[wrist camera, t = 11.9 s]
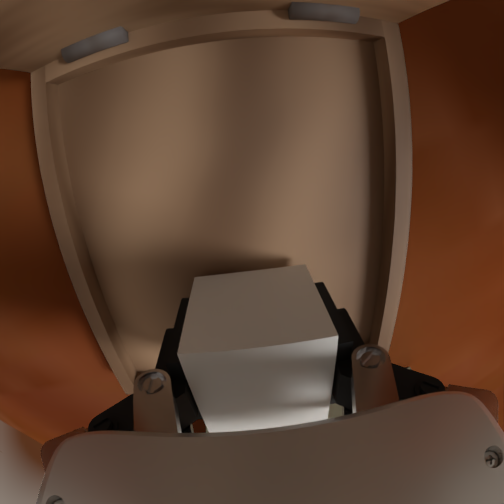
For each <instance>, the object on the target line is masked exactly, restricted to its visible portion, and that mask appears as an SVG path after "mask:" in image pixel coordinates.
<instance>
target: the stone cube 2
mask: <svg viewBox="0 0 504 504" xmlns="http://www.w3.org/2000/svg"><path fill="white" fill-rule="evenodd" d="M337 345H338V333H337V331H336V329H335V327H334V325H333V322H332V320H331V318H330V316H329V314H328V311H327V309H326V307H325V305H324V303H323V301H322V299H321V296H320V294H319V292H318V290H317V288H316V286H315V284H314V282H313V279H312V277H311V275H310V273H309V271H308V269H307V267H306V265H305V264H303V265H295V266H287V267H279V268H271V269H262V270H254V271H245V272H237V273H228V274H219V275H210V276H201V277H195V278H194V282H193V286H192V290H191V294H190V299H189V303H188V307H187V312H186V316H185V320H184V325H183V330H182V334H181V339H180V343H179V348H178V353H177V355H178V358H179V360H180V363H181V366H182V369H183V371H184V374H185V376H186V379H187V382H188V384H189V387H190V389H191V392H192V394H193V397H194V399H195V401H196V404H197V406H198V409H199V411H200V413H201V416H202V418H203V420H204V422H205V425H206V427H207V429H208V431H209V433H212V432H232V431H246V430H257V429H266V428H275V427H282V426H289V425H296V424H302V423H308V422H314V421H319V420H325V419H328V413H329V406H330V400H331V393H332V386H333V379H334V371H335V363H336V355H337Z"/></svg>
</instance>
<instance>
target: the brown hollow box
mask: <svg viewBox="0 0 504 504" xmlns="http://www.w3.org/2000/svg"><path fill="white" fill-rule="evenodd" d="M447 1H450V0H0V68H1V69H9V70H16V71H23V72H29V73H31V96H32V111H33V122H34V132H35V140H36V147H37V154H38V160H39V166H40V171H41V176H42V181H43V186H44V191H45V195H46V200H47V204H48V208H49V212H50V216H51V220H52V223H53V227H54V230H55V234H56V237H57V240H58V244H59V247H60V250H61V253H62V256H63V259H64V262H65V265H66V268H67V271H68V273H69V276H70V279H71V282H72V284H73V287H74V289H75V292H76V294H77V297H78V299H79V302H80V304H81V307H82V309H83V311H84V314H85V316H86V318H87V320H88V323H89V325H90V327H91V329H92V331H93V333H94V336H95V338H96V340H97V342H98V344H99V346H100V348H101V350H102V352H103V354H104V356H105V358H106V359H107V361H108V363H109V365H110V367H111V369H112V371H113V372H114V374H115V376H116V378H117V380H118V381H119V383H120V385H121V386H122V388H123V390H124V392H125V393H126V394H133V386H134V381H135V380H136V378H137V377H138V376H139V375H140V374H141V373H143V372H145V371H147V370H150V369H155V367H156V363H157V360H158V356H159V352H160V349H161V345H162V342H163V338H164V335H165V331H166V329H168V328H174V324H175V321H176V317H177V313H178V309H179V306H180V302H181V299H182V298H190V294H191V290H192V286H193V282H194V278H195V277H201V276H210V275H219V274H228V273H237V272H245V271H254V270H262V269H271V268H279V267H287V266H295V265H303V264H305V265H306V267H307V269H308V271H309V273H310V275H311V277H312V279H313V282H314V283H317V282H323V283H324V284H325V286H326V288H327V290H328V292H329V294H330V296H331V298H332V300H333V302H334V304H335V305H336V307H337V309H340V308H345V309H346V310H347V312H348V314H349V316H350V317H351V319H352V321H353V323H354V325H355V327H356V329H357V330H358V332H359V334H360V336H361V338H362V340H363V342H364V344H375V345H378V346H381V347H382V348H384V349H385V350H386V351H387V352H388V351H389V347H390V343H391V339H392V335H393V330H394V326H395V321H396V316H397V311H398V306H399V301H400V295H401V289H402V283H403V277H404V270H405V263H406V255H407V246H408V237H409V226H410V213H411V195H412V129H411V112H410V99H409V89H408V80H407V72H406V65H405V58H404V52H403V46H402V40H401V35H400V30H399V25H398V23H400V22H402V21H404V20H406V19H408V18H410V17H412V16H414V15H417V14H419V13H421V12H423V11H426V10H428V9H430V8H432V7H435V6H437V5H440V4H442V3H444V2H447Z"/></svg>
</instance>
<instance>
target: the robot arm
mask: <svg viewBox="0 0 504 504" xmlns="http://www.w3.org/2000/svg"><path fill="white" fill-rule="evenodd" d="M314 284H315V286H316V288H317V290H318V292H319V294H320V296H321V299H322V301H323V303H324V305H325V307H326V309H327V311H328V314H329V316H330V318H331V320H332V322H333V325H334V327H335V329H336V331H337V333H338V345H337V355H336V363H335V371H334V379H333V386H332V393H331V400H330V404H334V403H336V404H338V405H340V406H342V416H339V417H334V418H330V419H325V420H319V421H314V422H308V423H302V424H296V425H289V426H282V427H275V428H266V429H257V430H246V431H232V432H212V433H194V431H193V426H192V423H193V422H195V421H196V420H197V419H203V418H202V416H201V413H200V411H199V409H198V406H197V404H196V401H195V399H194V397H193V394H192V392H191V389H190V387H189V384H188V382H187V379H186V376H185V374H184V371H183V369H182V366H181V363H180V360H179V358H178V355H177V353H178V348H179V343H180V339H181V334H182V330H183V325H184V320H185V316H186V312H187V307H188V303H189V299H190V298H182V299H181V302H180V306H179V309H178V313H177V317H176V321H175V324H174V328H168V329H166V331H165V335H164V338H163V342H162V345H161V349H160V352H159V356H158V360H157V363H156V367H155V369H150V370H147V371H145V372H143V373H141V374H140V375H139V376H138V377H137V378H136V380H135V381H134V386H133V394H131V395H130V396H128V397H126V398H125V399H123V400H122V401H120V402H119V403H117V404H115V405H114V406H112V407H110V408H109V409H107V410H106V411H104V412H102V413H101V414H99V415H97V416H96V417H95V418H93V419H92V421H91V422H90V424H89V427H88V428H86V429H85V428H84V427H81V428H79V429H76V430H74V431H71V432H69V433H66V434H64V435H61V436H59V437H56V438H54V439H51V440H49V441H47V442H45V444H44V445H43V446H42V448H41V458H42V462H43V466H44V470H45V475H44V478H43V481H42V484H41V487H40V491H39V494H38V499H37V503H36V504H504V433H503V431H502V429H501V428H500V426H499V425H498V400H497V397H496V396H495V394H494V393H492V392H491V391H489V390H485V389H477V388H470V387H463V386H457V385H451V384H449V385H448V387H445V386H444V385H443V383H442V382H441V381H439V380H438V379H436V378H434V377H432V376H429V375H425V374H422V373H419V372H416V371H413V370H410V369H407V368H404V367H401V366H398V365H396V364H393V363H391V360H390V356H389V354H388V352H387V351H386V350H385V349H384V348H382V347H381V346H378V345H375V344H364V342H363V340H362V338H361V336H360V334H359V332H358V330H357V329H356V327H355V325H354V323H353V321H352V319H351V317H350V316H349V314H348V312H347V310H346V309H345V308H340V309H337V307H336V305H335V304H334V302H333V300H332V298H331V296H330V294H329V292H328V290H327V288H326V286H325V284H324V283H323V282H317V283H314Z"/></svg>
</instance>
